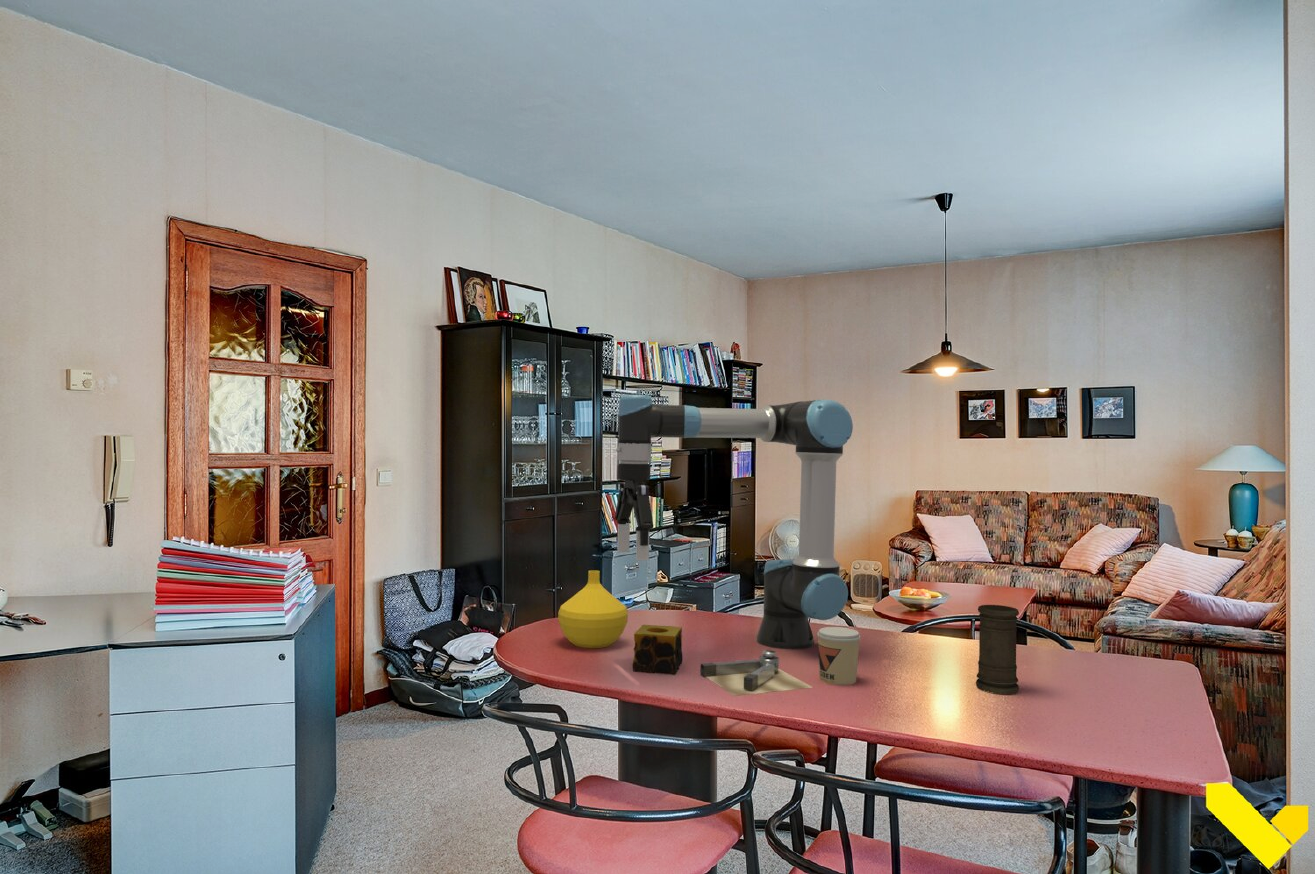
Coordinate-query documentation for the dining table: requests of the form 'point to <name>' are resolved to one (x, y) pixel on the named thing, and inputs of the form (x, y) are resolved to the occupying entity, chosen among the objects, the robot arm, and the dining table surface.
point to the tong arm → (760, 673)
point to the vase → (593, 616)
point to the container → (997, 649)
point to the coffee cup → (838, 655)
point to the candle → (658, 649)
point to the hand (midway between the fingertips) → (632, 556)
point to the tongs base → (737, 667)
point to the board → (774, 684)
